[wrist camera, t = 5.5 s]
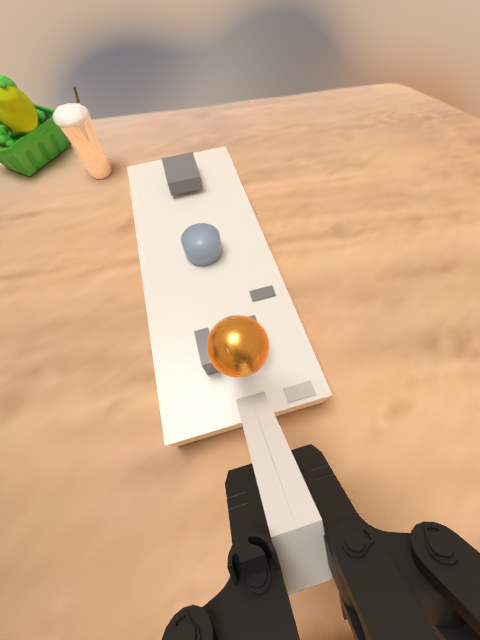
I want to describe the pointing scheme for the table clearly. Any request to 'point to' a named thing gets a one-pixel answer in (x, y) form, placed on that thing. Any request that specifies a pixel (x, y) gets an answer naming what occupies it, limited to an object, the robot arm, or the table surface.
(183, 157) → the rocker
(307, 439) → the table surface
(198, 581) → the table surface
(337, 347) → the table surface
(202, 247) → the button
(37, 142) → the fruit basket
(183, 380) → the panel
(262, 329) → the lever
